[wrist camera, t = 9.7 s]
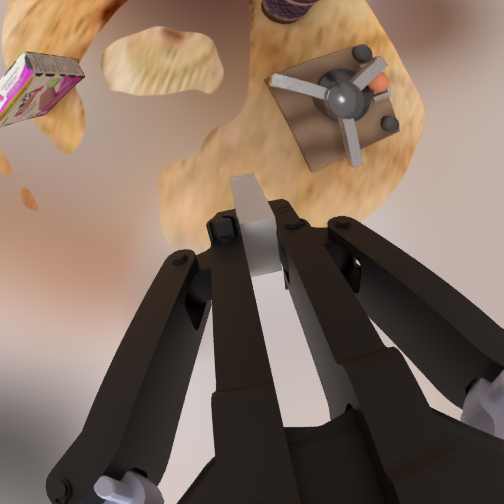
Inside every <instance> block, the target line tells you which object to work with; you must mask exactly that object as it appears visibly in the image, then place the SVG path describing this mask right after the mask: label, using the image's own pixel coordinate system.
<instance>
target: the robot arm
mask: <svg viewBox="0 0 504 504" xmlns="http://www.w3.org/2000/svg"><path fill="white" fill-rule="evenodd" d="M230 183H231V188H232V193H233V199H234V204H235V209H232V210H228V211H223V212H218V213H217V214H216V215H215V216H214V218H212V219H210V220H209V221H208V222H207V224H206V226H207V230H208V234H209V237H210V241H211V247H210V248H209V249H208V250H206V251H205V252H203V253H201V254H198V255H195V253H194V251H192V250H186V249H184V250H178V251H177V252H174V253H173V254H171V255H169V256H168V257H167V259H166V260H165V261H164V263H163V265H162V267H161V268H160V270H159V272H158V274H157V275H156V277H155V279H154V281H153V282H152V284H151V286H150V288H149V290H148V291H147V293H146V295H145V297H144V299H143V301H142V303H141V304H140V306H139V308H138V310H137V312H136V314H135V316H134V318H133V320H132V322H131V323H130V326H129V328H128V329H127V331H126V333H125V336H124V337H123V339H122V341H121V343H120V345H119V347H118V349H117V352H116V354H115V356H114V358H113V360H112V362H111V364H110V366H109V369H108V371H107V373H106V375H105V377H104V379H103V382H102V384H101V386H100V389H99V391H98V393H97V395H96V398H95V400H94V403H93V405H92V407H91V410H90V412H89V415H88V417H87V420H86V423H85V425H84V427H83V430H82V432H81V434H80V435H79V436H78V437H77V439H76V440H75V441H74V442H73V444H72V445H71V447H69V449H68V450H67V451H66V453H65V454H64V455H63V457H62V458H61V459H60V460H59V462H58V463H57V464H56V465H55V467H54V468H53V469H52V471H51V472H50V473H49V475H48V477H47V479H46V491H47V495H48V497H49V499H50V501H51V503H52V504H164V499H163V497H162V494H161V492H160V490H159V489H158V487H157V486H158V484H159V483H160V481H161V479H162V477H163V474H164V472H165V470H166V467H167V464H168V460H169V458H170V454H171V450H172V446H173V442H174V438H175V434H176V430H177V426H178V422H179V419H180V415H181V411H182V408H183V404H184V400H185V396H186V393H187V389H188V385H189V382H190V378H191V374H192V371H193V367H194V364H195V360H196V357H197V353H198V349H199V346H200V343H201V339H202V336H203V332H204V329H205V325H206V322H207V319H208V315H209V312H210V308H211V303H212V314H213V337H214V357H215V373H216V392H214V393H212V398H211V408H212V422H213V435H214V448H215V457H213V458H212V459H211V461H209V463H207V465H206V466H205V467H204V468H203V470H202V471H201V473H200V474H199V475H198V476H197V478H196V479H195V480H194V482H193V483H192V484H191V486H190V487H189V488H188V490H187V491H186V492H185V494H184V495H183V496H182V497H181V499H180V500H179V501H178V503H177V504H504V329H503V328H501V327H500V326H499V325H497V324H496V323H495V322H494V321H493V320H492V319H491V318H490V317H489V316H487V315H486V314H485V313H484V312H483V311H482V310H480V309H479V308H478V307H477V306H476V305H474V304H473V303H472V302H471V301H470V300H468V299H467V298H466V297H465V296H463V295H462V294H461V293H460V292H458V291H457V290H456V289H454V288H453V287H452V286H451V285H449V284H448V283H447V282H445V281H444V280H443V279H441V278H440V277H439V276H438V275H436V274H435V273H434V272H432V271H431V270H429V269H428V268H426V267H425V266H424V265H422V264H421V263H420V262H418V261H417V260H416V259H414V258H413V257H411V256H410V255H408V254H407V253H405V252H404V251H403V250H401V249H400V248H398V247H397V246H395V245H394V244H392V243H391V242H389V241H388V240H386V239H385V238H383V237H382V236H380V235H379V234H377V233H375V232H374V231H372V230H371V229H369V228H368V227H366V226H364V225H363V224H361V223H360V222H358V221H357V220H355V219H353V218H350V217H346V216H338V217H334V218H332V219H330V220H329V221H328V222H327V224H328V228H315V227H311V226H310V224H309V223H308V222H307V221H306V220H305V219H302V218H299V217H298V215H297V214H296V212H295V211H294V210H293V208H292V207H291V205H290V203H289V202H288V201H286V200H284V199H278V200H273V201H268V202H267V199H266V197H265V195H264V193H263V191H262V189H261V187H260V185H259V183H258V181H257V179H256V178H255V176H254V174H253V173H251V174H246V175H241V176H236V177H231V178H230ZM356 259H357V260H358V261H359V263H360V265H361V266H360V265H358V264H357V263H356ZM281 264H282V266H283V272H284V280H285V289H286V290H287V289H289V292H290V295H291V297H292V300H293V303H294V306H295V309H296V311H297V314H298V317H299V320H300V323H301V326H302V328H303V331H304V334H305V337H306V340H307V343H308V346H309V349H310V351H311V354H312V357H313V360H314V363H315V366H316V369H317V372H318V375H319V378H320V381H321V384H322V387H323V390H324V393H325V396H326V399H327V402H328V406H329V411H330V419H331V421H329V422H327V423H326V424H324V425H322V426H318V427H283V422H282V418H281V414H280V409H279V404H278V400H277V395H276V391H275V386H274V382H273V377H272V373H271V368H270V364H269V359H268V355H267V350H266V345H265V341H264V336H263V332H262V327H261V323H260V318H259V313H258V309H257V304H256V299H255V295H254V290H253V285H252V281H251V277H253V276H258V275H263V274H267V273H272V272H277V271H281V270H282V266H281ZM211 300H212V301H211ZM369 318H370V319H371V320H372V321H373V322H374V323H375V324H376V325H377V326H378V327H379V328H380V329H381V330H382V331H383V332H384V333H385V334H386V335H387V336H388V337H389V338H390V339H391V340H392V341H393V342H394V343H395V344H396V345H397V346H398V348H399V349H400V350H401V351H402V352H403V353H404V354H405V355H406V356H407V357H408V358H409V359H410V360H411V361H412V362H413V363H414V365H415V366H416V367H417V368H418V369H419V370H420V371H421V372H422V373H423V374H424V375H425V376H426V378H427V379H428V380H429V381H430V382H431V383H432V384H433V385H434V386H435V387H436V389H437V390H439V392H441V393H442V394H443V395H444V396H445V397H446V398H447V399H448V400H449V401H451V402H452V403H453V404H454V405H456V406H458V407H460V408H461V409H463V413H462V415H461V418H460V419H461V421H459V420H456V419H454V418H452V417H450V416H447V415H446V414H444V413H441V412H439V411H437V410H435V409H433V408H431V407H430V406H429V404H428V402H427V400H426V398H425V396H424V394H423V392H422V390H421V388H420V386H419V385H418V383H417V381H416V379H415V377H414V375H413V373H412V372H411V370H410V368H409V366H408V364H407V362H406V361H405V359H404V357H403V355H402V354H401V353H400V351H399V350H398V349H397V348H395V347H389V348H387V347H386V346H385V345H384V344H383V342H382V340H381V339H380V337H379V335H378V333H377V331H376V330H375V328H374V326H373V324H372V323H371V321H370V319H369Z"/></svg>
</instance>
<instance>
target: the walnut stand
mask: <svg viewBox="0 0 504 504" xmlns="http://www.w3.org/2000/svg"><path fill="white" fill-rule="evenodd" d="M372 59H373V57H372V51H371V49H370V48H369V47H368V46H367V44H363V45H359V46H355V47H352V48H348V49H345V50H342V51H338V52H335V53H332V54H329V55H326V56H323V57H320V58H317V59H314V60H311V61H309V62H306V63H303V64H301V65H298V66H296V67H293V68H291V69H288V70H286V71H283V72H281V73H278V74H279V75H283V76H287V77H291V78H295V79H299V80H302V81H306V82H309V83H312V84H316V85H317V83H318V81H319V79H320V78H321V76H322V75H323V74H325V73H326V72H328V71H330V70H334V69H340V68H344V69H349V70H352V71H354V72H356V73H358V72H359V71H360V70H361V69H362V68H363V67H364V66H365V65H366V64H368V63H369V62H370V61H371V60H372ZM381 72H382V73H384V72H383V70H382V71H381ZM264 81H265V82H266V84H267V86H268V88H269V90H270V91H271V93H272V95H273V97H274V99H275V101H276V102H277V104H278V106H279V108H280V110H281V112H282V114H283V116H284V118H285V120H286V122H287V124H288V126H289V128H290V130H291V132H292V134H293V136H294V138H295V140H296V142H297V144H298V146H299V148H300V150H301V152H302V154H303V156H304V159H305V161H306V163H307V165H308V167H309V169H310V171H311V172H315V171H317V170H319V169H321V168H323V167H325V166H327V165H329V164H331V163H333V162H335V161H337V160H339V159H341V158H343V157H345V156H346V152H345V147H344V143H343V138H342V134H341V130H340V126H339V122H338V121H335V120H333V119H331V118H329V117H328V116H326V115H325V114H324V113H323V112H322V110H320V109H318V108H317V107H316V106H315V104H314V102H313V97H310V96H307V95H303V94H299V93H296V92H292V91H288V90H284V89H280V88H275V87H271V86H269V81H270V77H269V78H267V79H265V80H264ZM369 90H370V95H371V102H370V106H369V109H368V111H367V113H366V114H365V115H364V116H363V117H362V118H361V119H360V120H358V121H356V122H355V126H356V131H357V136H358V141H359V146H360V149H362V148H364V147H366V146H369V145H371V144H373V143H375V142H377V141H379V140H381V139H384V138H386V137H388V136H390V135H392V134H395V133H397V132H399V131H400V130H399V122H398V120H397V119H396V117H395V114H394V111H393V108H392V105H391V102H390V99H389V97H391V96H392V93H391V90H390V88H389V85H388V88H387V89H386V90H385V91H383V92H374V91H372V90H371V89H370V88H369Z"/></svg>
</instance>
